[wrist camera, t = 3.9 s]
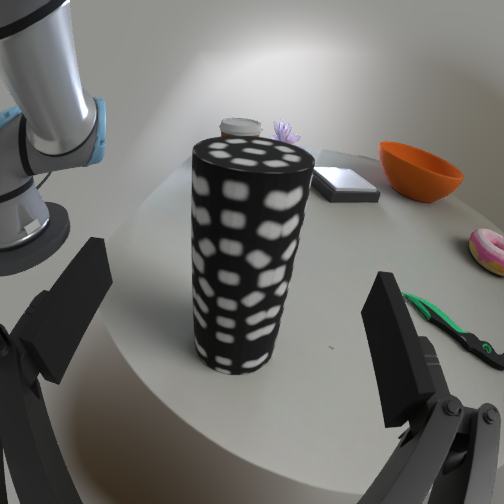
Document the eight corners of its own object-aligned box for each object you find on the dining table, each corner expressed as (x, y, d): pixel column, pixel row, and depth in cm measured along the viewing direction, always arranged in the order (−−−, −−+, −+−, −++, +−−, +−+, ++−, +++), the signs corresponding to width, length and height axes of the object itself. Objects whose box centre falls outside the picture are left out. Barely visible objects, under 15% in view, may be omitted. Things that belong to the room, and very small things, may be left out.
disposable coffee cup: (210, 166, 73) (213, 118, 66) (245, 163, 77) (250, 117, 70) (227, 181, 66) (231, 127, 59) (265, 176, 70) (271, 126, 64)
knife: (525, 366, 28) (519, 388, 25) (522, 370, 29) (515, 391, 26) (413, 279, 42) (398, 292, 40) (411, 283, 43) (396, 296, 40)
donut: (457, 237, 58) (465, 218, 55) (498, 250, 57) (506, 232, 54) (478, 274, 47) (490, 253, 44) (521, 285, 46) (532, 266, 43)
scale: (302, 176, 74) (304, 163, 72) (347, 177, 77) (349, 166, 76) (330, 202, 63) (333, 188, 61) (377, 202, 67) (381, 189, 65)
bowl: (453, 196, 81) (463, 167, 75) (450, 224, 63) (465, 187, 57) (382, 166, 91) (389, 137, 86) (359, 185, 74) (368, 147, 68)
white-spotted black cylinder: (182, 360, 29) (170, 160, 18) (210, 306, 36) (217, 131, 25) (264, 384, 28) (310, 184, 17) (280, 324, 35) (318, 147, 23)
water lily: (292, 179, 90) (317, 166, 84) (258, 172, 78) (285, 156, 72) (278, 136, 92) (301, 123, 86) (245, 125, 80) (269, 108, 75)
